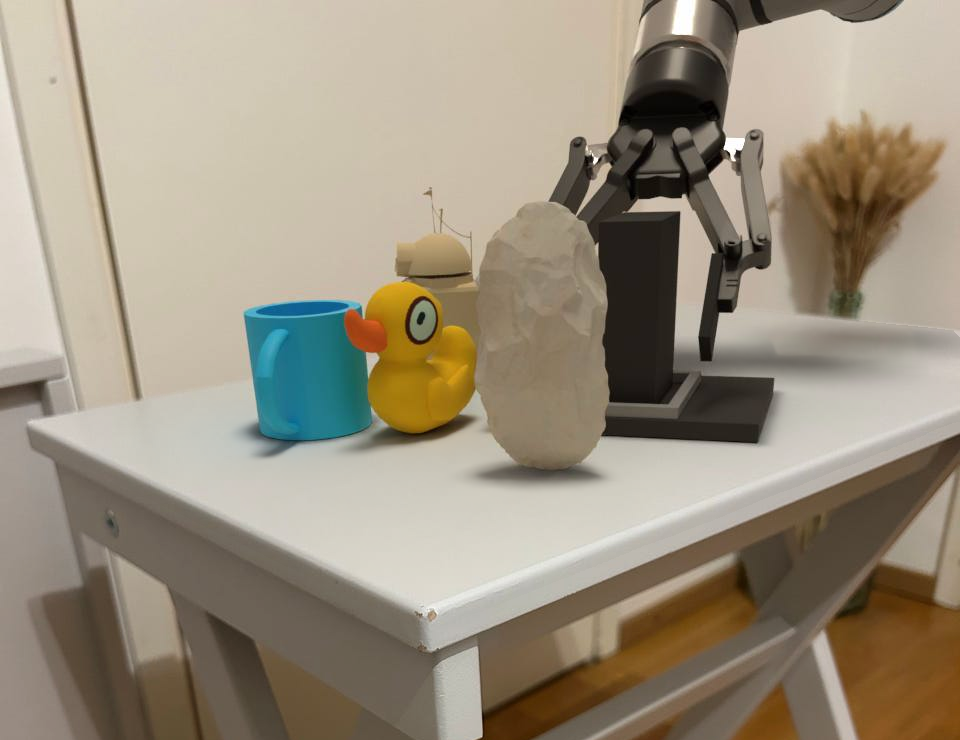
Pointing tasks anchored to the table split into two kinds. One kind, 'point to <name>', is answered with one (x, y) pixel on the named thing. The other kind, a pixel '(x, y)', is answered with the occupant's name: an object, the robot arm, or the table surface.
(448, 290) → the robot
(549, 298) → the stone
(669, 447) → the table surface
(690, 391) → the base pad
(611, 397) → the pad block
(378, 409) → the duckling
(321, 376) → the mug
